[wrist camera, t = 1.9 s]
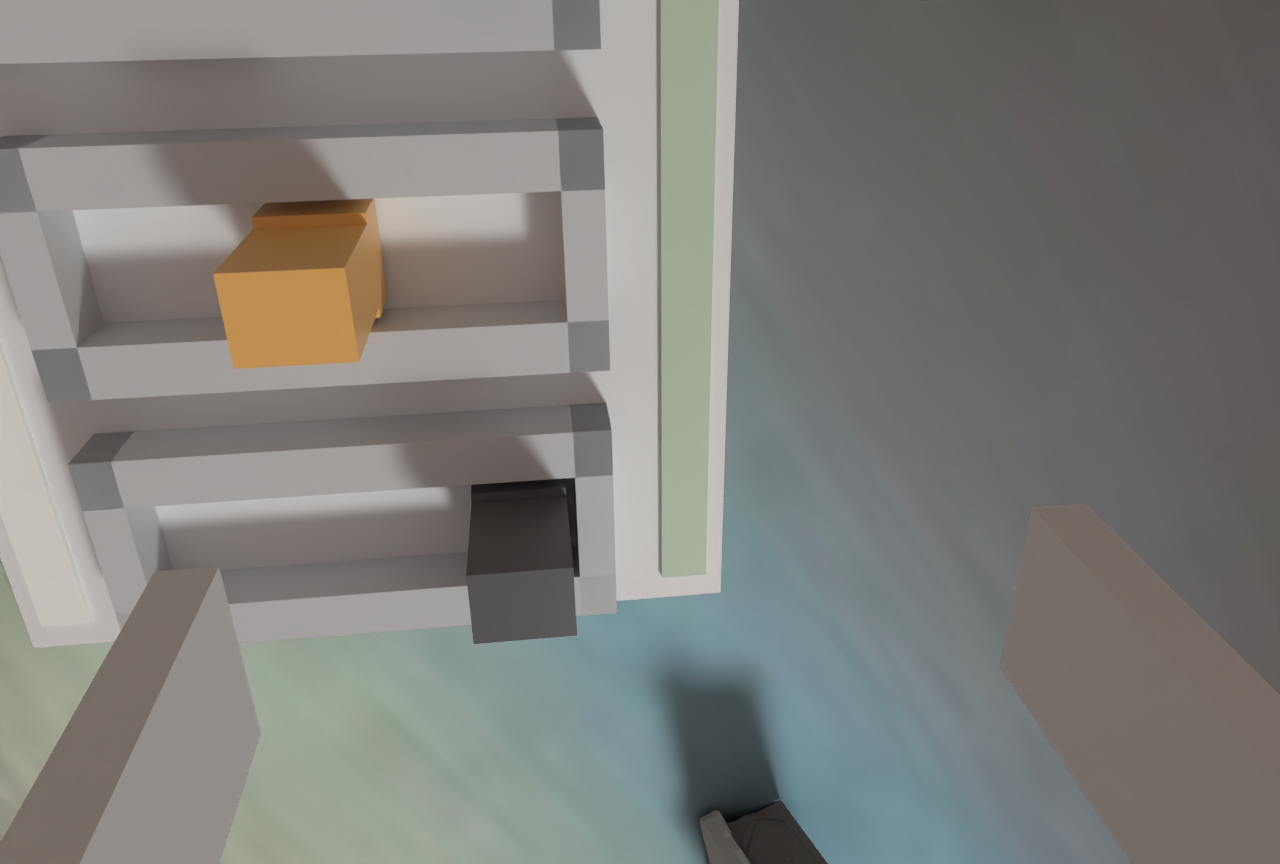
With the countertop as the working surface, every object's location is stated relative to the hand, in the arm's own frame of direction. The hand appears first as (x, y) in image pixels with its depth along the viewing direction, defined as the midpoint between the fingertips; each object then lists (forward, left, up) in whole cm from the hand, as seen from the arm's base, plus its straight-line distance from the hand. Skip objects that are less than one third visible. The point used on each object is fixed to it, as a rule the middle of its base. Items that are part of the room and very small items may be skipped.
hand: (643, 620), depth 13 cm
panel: (-7, 0, -20) cm, 21 cm away
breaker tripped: (-7, 0, -18) cm, 20 cm away
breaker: (-2, -9, -18) cm, 20 cm away
